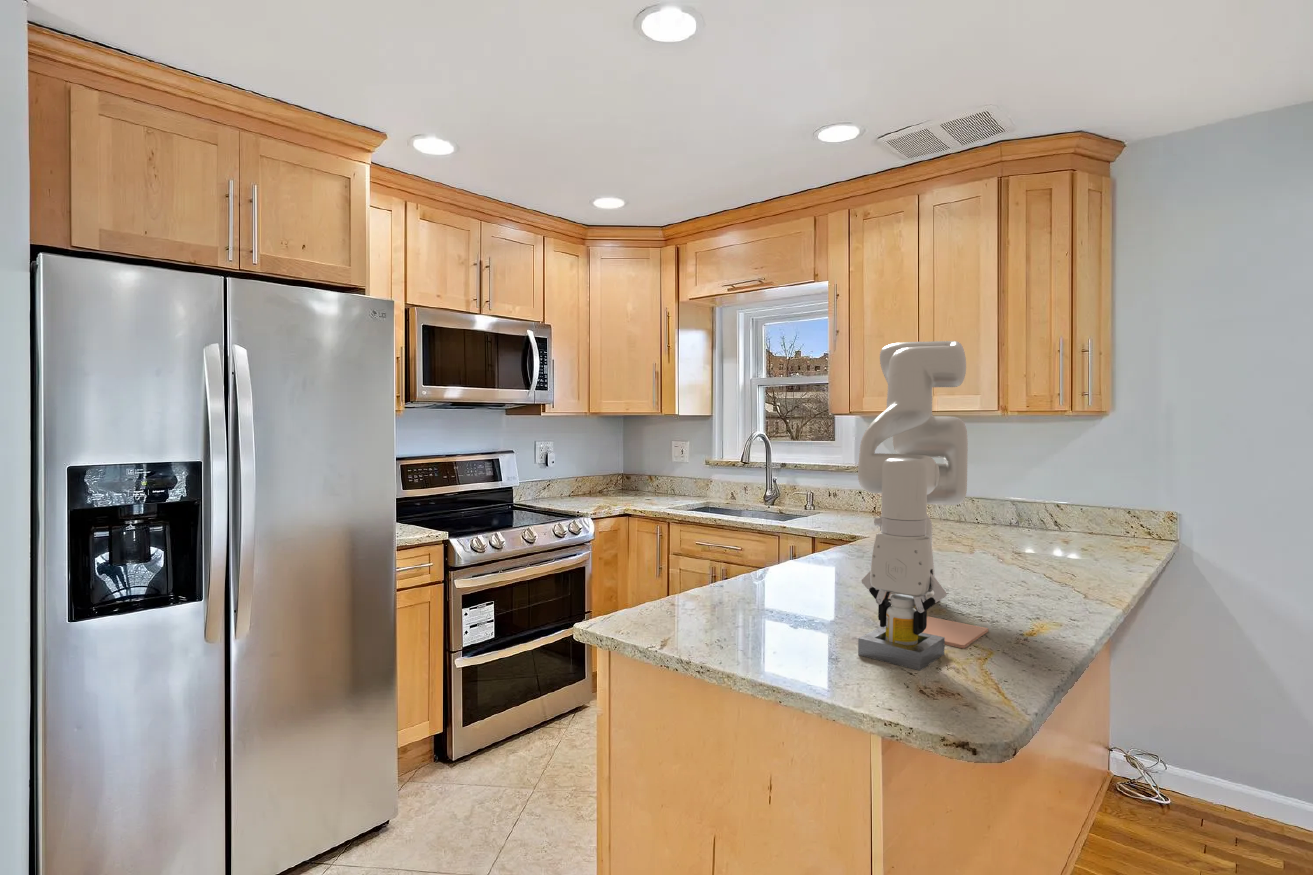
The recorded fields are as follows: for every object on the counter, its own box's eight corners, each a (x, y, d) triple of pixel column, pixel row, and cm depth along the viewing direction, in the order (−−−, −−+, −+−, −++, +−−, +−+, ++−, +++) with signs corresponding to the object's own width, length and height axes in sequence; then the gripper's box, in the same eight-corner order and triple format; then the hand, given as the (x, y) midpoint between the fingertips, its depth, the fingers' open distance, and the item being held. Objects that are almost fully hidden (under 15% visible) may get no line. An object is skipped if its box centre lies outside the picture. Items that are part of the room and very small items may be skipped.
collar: (858, 654, 122) (858, 637, 122) (884, 640, 130) (885, 624, 130) (920, 670, 114) (920, 652, 114) (944, 653, 123) (944, 637, 122)
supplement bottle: (879, 647, 124) (879, 594, 124) (901, 643, 126) (902, 591, 126) (901, 657, 119) (902, 602, 119) (924, 652, 121) (925, 598, 121)
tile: (889, 632, 135) (889, 628, 135) (917, 617, 145) (917, 614, 145) (963, 648, 126) (963, 645, 126) (988, 631, 136) (988, 628, 136)
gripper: (848, 524, 125) (847, 623, 125) (945, 536, 113) (943, 645, 114) (867, 519, 130) (866, 614, 131) (961, 530, 119) (959, 634, 119)
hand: (901, 627), depth 122 cm, fingers closed on supplement bottle, 5 cm apart
